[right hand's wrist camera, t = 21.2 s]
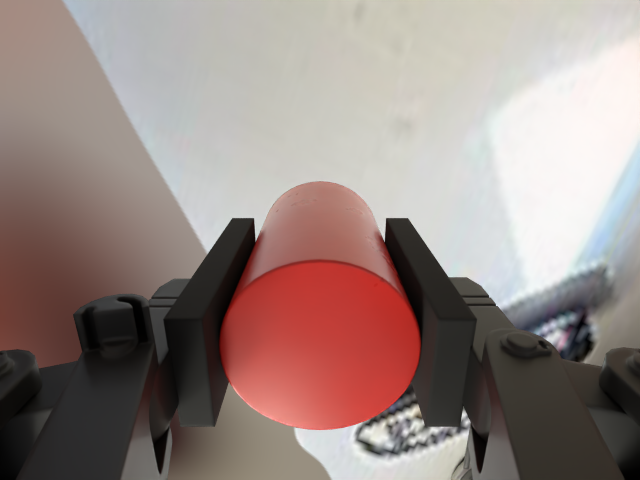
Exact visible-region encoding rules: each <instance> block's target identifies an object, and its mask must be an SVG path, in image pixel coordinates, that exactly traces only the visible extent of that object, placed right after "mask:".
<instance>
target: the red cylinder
mask: <svg viewBox="0 0 640 480" xmlns="http://www.w3.org/2000/svg"><path fill="white" fill-rule="evenodd" d="M219 353H220V359H221V363H222V366H223V369H224V372H225V375H226V377H227V378H228V380H229V382H230V384H231V386H232V387H233V388H234V390H235V391H236V393H237V394H238V395H239V396H240V397H241V398H242V399H243V400H244V401H245V402H246V403H247V404H248V405H249V406H251V407H252V408H253V409H255V410H256V411H258V412H259V413H261V414H262V415H264V416H266V417H268V418H270V419H272V420H274V421H277V422H279V423H282V424H285V425H289V426H292V427H296V428H303V429H312V430H328V429H337V428H344V427H348V426H352V425H355V424H358V423H361V422H364V421H366V420H368V419H370V418H372V417H374V416H376V415H378V414H379V413H381V412H383V411H384V410H386V409H387V408H388V407H389V406H391V405H392V404H393V403H394V402H395V401H396V400H397V399H398V398H399V397H400V396H401V395H402V394H403V393H404V391H405V390H406V389H407V387H408V386H409V384H410V383H411V381H412V379H413V377H414V375H415V372H416V369H417V367H418V364H419V359H420V354H421V335H420V328H419V325H418V321H417V318H416V316H415V313H414V311H413V309H412V306H411V304H410V301H409V299H408V297H407V294H406V292H405V290H404V287H403V285H402V283H401V280H400V278H399V275H398V273H397V271H396V268H395V266H394V264H393V261H392V259H391V256H390V254H389V252H388V249H387V247H386V245H385V242H384V240H383V238H382V235H381V233H380V230H379V228H378V226H377V223H376V221H375V219H374V216H373V214H372V212H371V210H370V208H369V207H368V205H367V204H366V203H365V202H364V200H363V199H362V198H361V197H360V196H358V195H357V194H356V193H355V192H353V191H352V190H350V189H348V188H346V187H344V186H342V185H339V184H336V183H331V182H321V181H320V182H310V183H305V184H302V185H299V186H296V187H294V188H292V189H290V190H289V191H287V192H286V193H284V194H283V195H282V196H281V197H280V198H278V200H277V201H276V202H275V203H274V204H273V206H272V207H271V209H270V211H269V213H268V215H267V217H266V219H265V222H264V224H263V226H262V229H261V231H260V233H259V236H258V238H257V240H256V243H255V245H254V248H253V250H252V252H251V255H250V257H249V259H248V262H247V264H246V266H245V269H244V271H243V273H242V276H241V278H240V280H239V283H238V285H237V287H236V290H235V292H234V295H233V297H232V299H231V302H230V304H229V306H228V309H227V311H226V313H225V316H224V318H223V322H222V325H221V328H220V335H219Z"/></svg>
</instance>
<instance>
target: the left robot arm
mask: <svg viewBox="0 0 640 480" xmlns="http://www.w3.org/2000/svg"><path fill="white" fill-rule="evenodd" d="M463 466H464V461H463V462H462V463H461V464H460V465H459V466H458V467H457V469H456V470H455V472H454V474H453V476H452V479H451V480H473V476H472V469H471V461H470V465H469V470H468V469H463Z"/></svg>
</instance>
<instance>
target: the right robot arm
mask: <svg viewBox="0 0 640 480" xmlns="http://www.w3.org/2000/svg"><path fill="white" fill-rule="evenodd" d="M254 245H255V226H254V218H232V220H231V221H230V223H229V224H228V225H227V227H226V228H225V230H224V231H223V233H222V234H221V236H220V237H219V239H218V240H217V241H216V243H215V244H214V246H213V247H212V249H211V250H210V252H209V253H208V255H207V256H206V257H205V259H204V260H203V262H202V263H201V265H200V266H199V268H198V269H197V271H196V272H195V273H194V275H193V276H192V278H191V279H173V280H171V281H169V282H168V283H166V284H164V285H163V286H161V287H159V289H158V290H157V291H156V292H155V294H154V295H153V296H152V299H150V300H149V301H148V300H147V299H146V298H144V297H143V296H140V295H135V294H118V295H112V296H107V297H103V298H100V299H97V300H94V301H91V302H90V303H88V304H86V305H84V306H82V307H80V308H79V309H78V310H77V311H76V312H75V313H74V314H73V316H74V320H75V324H76V328H77V332H78V336H79V340H80V344H81V348H82V353H81V355H80V357H79V359H78V361H74V362H70V363H65V364H60V365H55V366H50V367H45V368H38V364H37V361H36V358H35V355H33V354H32V353H31V352H29V351H25V350H18V349H17V350H7V351H0V480H167V477H168V470H169V462H170V455H171V447H172V437H171V430H170V425H169V424H170V422H171V420H172V418H173V415H174V413H175V411H176V409H177V408H178V415H179V421H180V426H181V427H214V426H215V424H216V421H217V418H218V415H219V412H220V408H221V405H222V402H223V399H224V396H225V393H226V389H227V386H228V383H229V380H228V378H227V377H226V375H225V372H224V369H223V366H222V363H221V359H220V353H219V335H220V328H221V325H222V322H223V318H224V316H225V313H226V311H227V309H228V306H229V304H230V302H231V299H232V297H233V295H234V292H235V290H236V287H237V285H238V283H239V280H240V278H241V276H242V273H243V271H244V269H245V266H246V264H247V262H248V259H249V257H250V255H251V252H252V250H253V248H254ZM385 245H386V247H387V249H388V252H389V254H390V256H391V259H392V261H393V264H394V266H395V268H396V271H397V273H398V275H399V278H400V280H401V283H402V285H403V287H404V290H405V292H406V294H407V297H408V299H409V301H410V304H411V306H412V309H413V311H414V313H415V316H416V318H417V321H418V325H419V328H420V335H421V354H420V359H419V364H418V367H417V369H416V372H415V375H414V377H413V379H412V381H411V382H412V385H413V388H414V392H415V395H416V398H417V401H418V404H419V408H420V411H421V414H422V417H423V420H424V424H425V427H460V423H461V417H462V410H463V406H464V408H465V410H466V413H467V415H468V417H469V419H470V421H471V424H470V430H469V436H468V442H467V448H466V453H465V459H464V466H463V469H468V470H469V465H470V461H471V469H472V476H473V480H640V349H632V348H617V349H612V350H610V351H609V352H608V353H606V356H605V359H604V362H603V366H602V367H600V366H595V365H590V364H585V363H579V362H574V361H569V360H565V359H562V358H561V357H560V355H559V353H558V351H557V350H556V349H555V347H554V346H553V345H552V344H551V343H550V342H548V341H547V340H545V339H544V338H542V337H540V336H538V335H536V334H533V333H531V332H528V331H524V330H520V329H516V328H515V327H514V325H513V324H512V323H511V322H510V321H509V319H508V318H507V317H506V316H505V315H504V313H503V312H502V311H501V310H500V308H499V307H498V306H496V304H495V302H494V301H493V300H492V299H491V298H489V295H488V294H487V293H486V291H485V290H484V289H483V288H482V287H481V286H480V285H479V284H477V283H475V282H473V281H472V280H470V279H468V278H467V277H448V276H447V274H446V273H445V272H444V270H443V269H442V267H441V266H440V264H439V263H438V261H437V260H436V258H435V257H434V256H433V254H432V253H431V251H430V250H429V248H428V247H427V245H426V244H425V242H424V241H423V240H422V238H421V237H420V235H419V234H418V232H417V231H416V229H415V228H414V226H413V225H412V224H411V222H410V221H409V219H408V218H386V231H385Z"/></svg>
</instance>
